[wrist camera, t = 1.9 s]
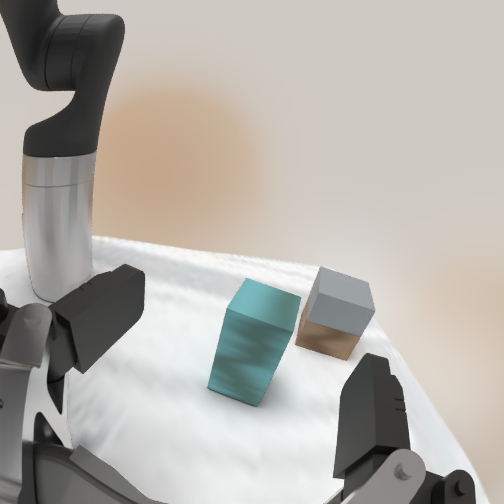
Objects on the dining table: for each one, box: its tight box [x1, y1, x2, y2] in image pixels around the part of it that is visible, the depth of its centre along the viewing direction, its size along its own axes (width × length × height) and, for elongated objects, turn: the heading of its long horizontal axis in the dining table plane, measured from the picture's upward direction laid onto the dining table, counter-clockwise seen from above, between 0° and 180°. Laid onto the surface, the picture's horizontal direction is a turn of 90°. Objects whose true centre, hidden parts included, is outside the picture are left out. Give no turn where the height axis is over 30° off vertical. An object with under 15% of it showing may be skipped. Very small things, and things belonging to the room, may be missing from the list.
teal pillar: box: [207, 278, 301, 406], centre depth 23 cm, size 5×5×10 cm
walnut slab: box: [295, 296, 360, 360], centre depth 34 cm, size 7×7×4 cm
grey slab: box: [307, 266, 375, 337], centre depth 33 cm, size 7×7×4 cm
